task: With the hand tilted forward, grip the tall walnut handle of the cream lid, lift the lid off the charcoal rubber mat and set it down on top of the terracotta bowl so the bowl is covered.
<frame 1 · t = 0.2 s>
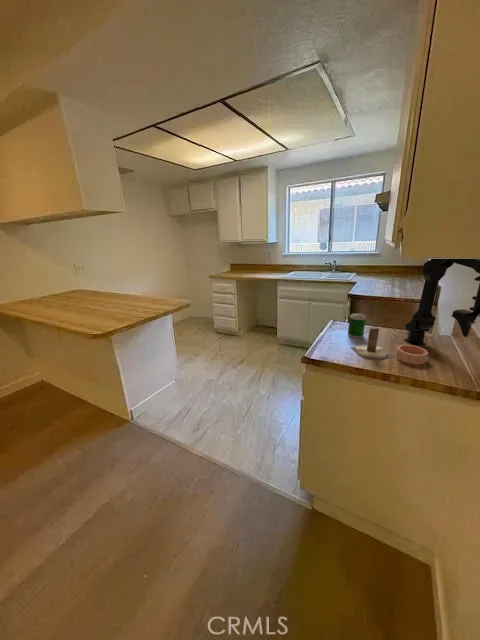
hand: (476, 335, 99), 15 cm above the counter, tool pointing down, fingers open, 9 cm apart
lid: (370, 352, 119), point 1 cm above the counter, touching mat
soda can: (355, 336, 139), on the counter
bowl: (410, 359, 113), on the counter
mat: (370, 353, 119), on the counter
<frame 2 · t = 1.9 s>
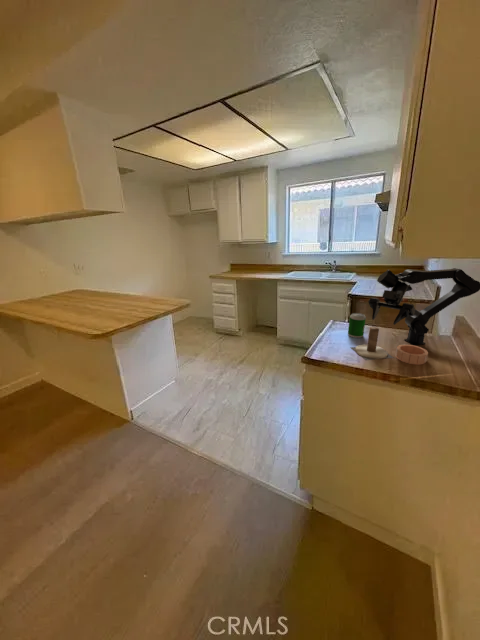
hand: (383, 321, 119), 14 cm above the counter, tool tilted 45°, fingers open, 9 cm apart
nothing on the counter moved.
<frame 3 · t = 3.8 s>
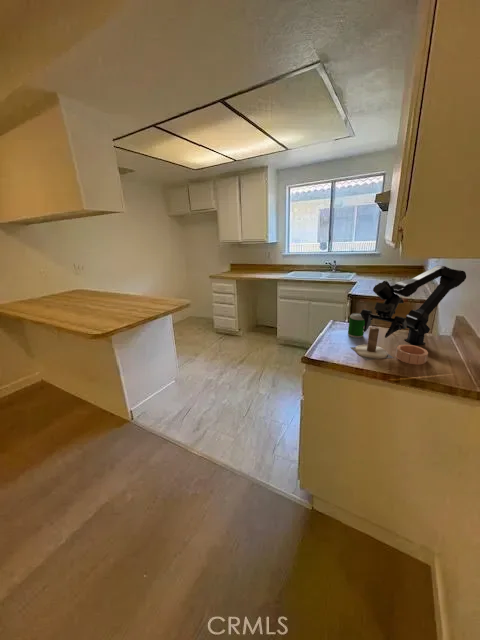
hand: (374, 334, 117), 9 cm above the counter, tool tilted 45°, fingers open, 9 cm apart
nothing on the counter moved.
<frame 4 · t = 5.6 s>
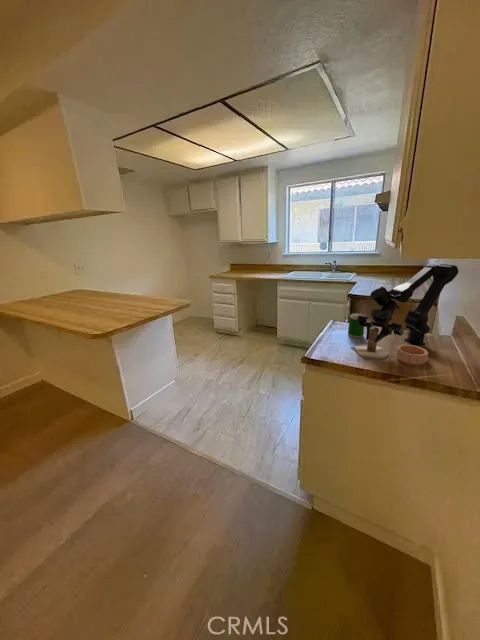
hand: (371, 340, 116), 7 cm above the counter, tool tilted 45°, fingers closed on lid, 4 cm apart
lid: (370, 352, 119), point 1 cm above the counter, touching gripper, mat
everything else where it was.
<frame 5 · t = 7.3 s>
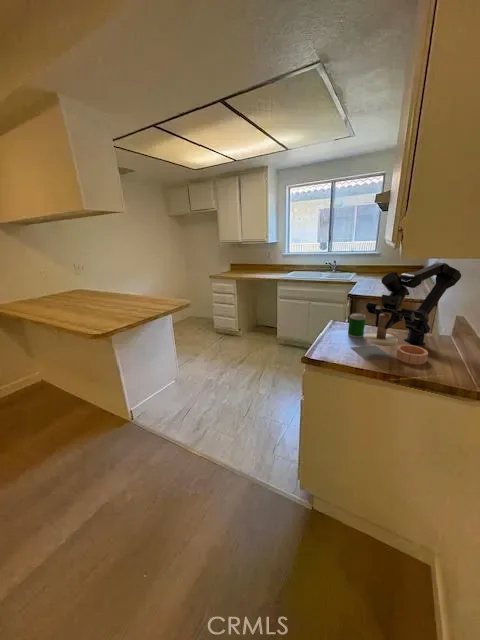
hand: (380, 327, 113), 13 cm above the counter, tool tilted 45°, fingers closed on lid, 4 cm apart
lid: (380, 339, 116), point 7 cm above the counter, touching gripper
everything else where it was.
when the fingers open (12 cm above the counter, at t = 9.2 s): lid drops 1 cm, resting on bowl.
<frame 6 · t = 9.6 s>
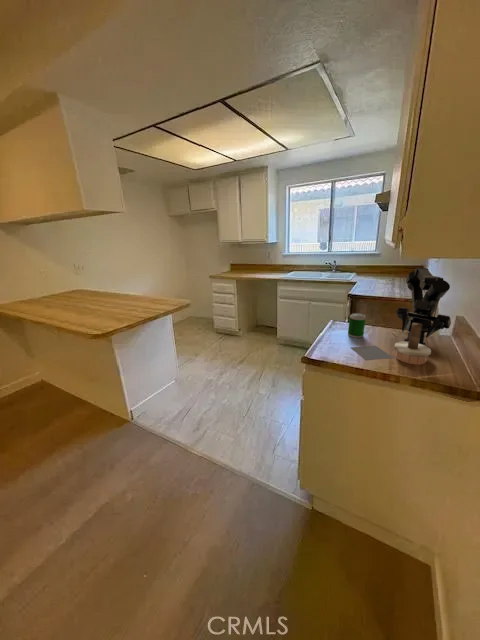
hand: (414, 334, 109), 12 cm above the counter, tool tilted 45°, fingers open, 8 cm apart
lid: (412, 349, 112), point 4 cm above the counter, touching bowl
everything else where it was.
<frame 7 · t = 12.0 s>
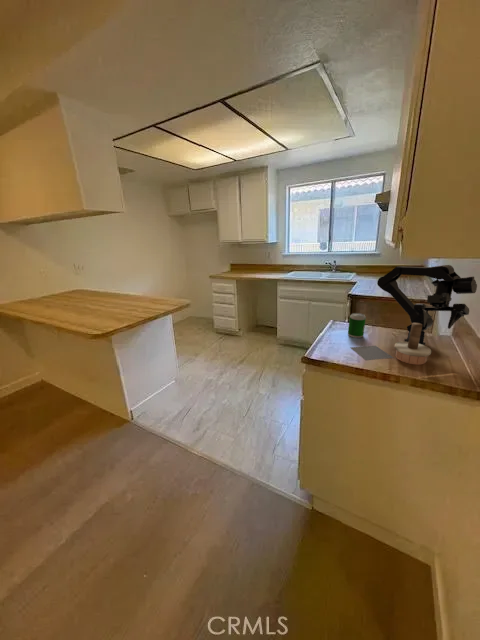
hand: (435, 327, 112), 13 cm above the counter, tool tilted 35°, fingers open, 9 cm apart
nothing on the counter moved.
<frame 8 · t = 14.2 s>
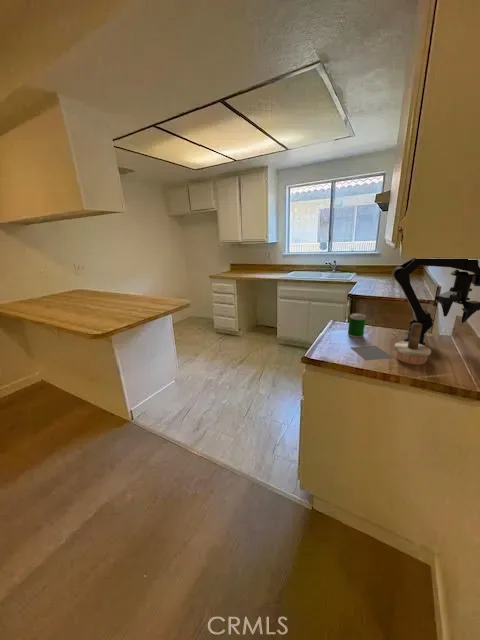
hand: (453, 319, 121), 13 cm above the counter, tool pointing down, fingers open, 9 cm apart
nothing on the counter moved.
at the end: lid 0.1 cm from the bowl (horizontally); lid point 4.5 cm above the counter; lid tilted 0° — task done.
